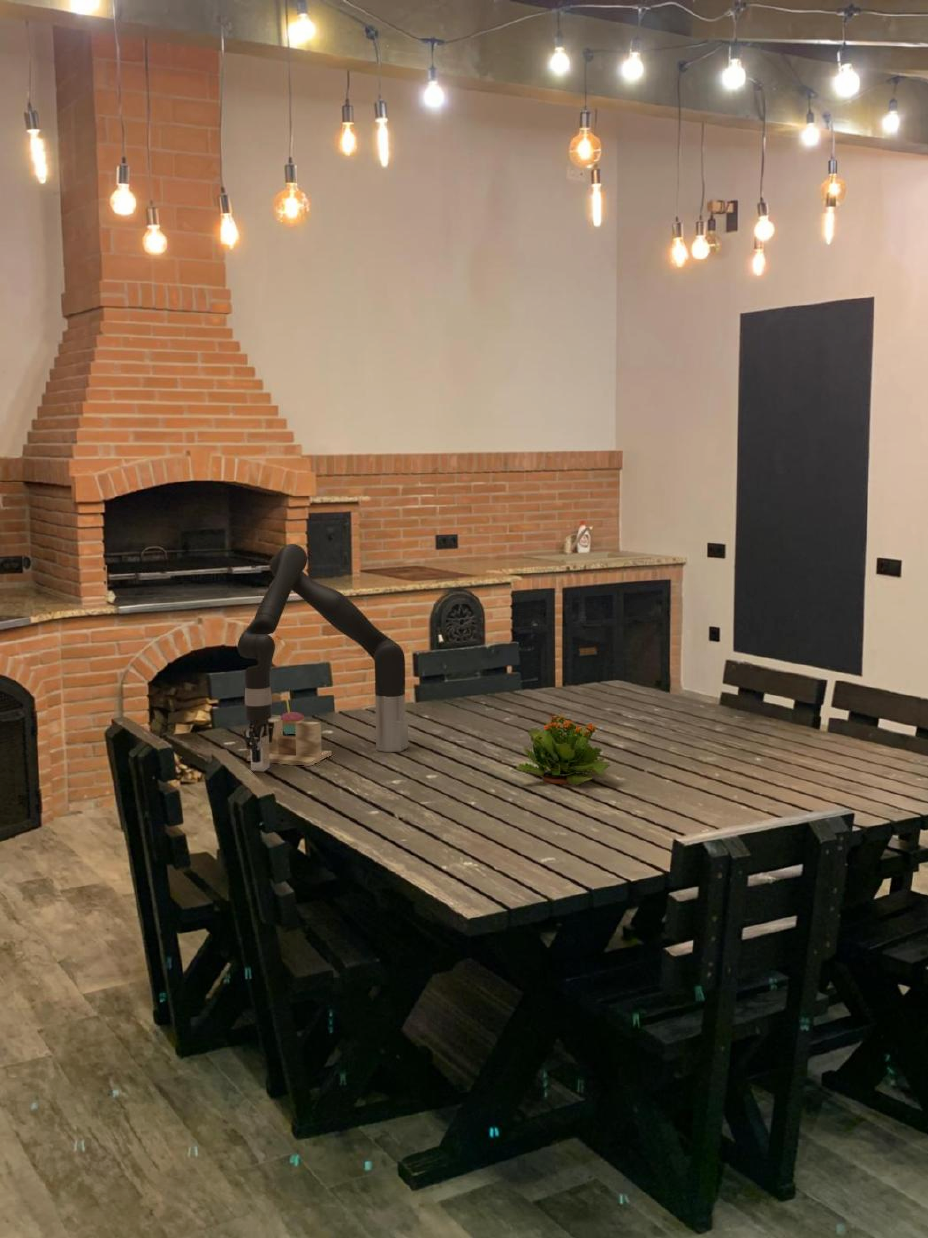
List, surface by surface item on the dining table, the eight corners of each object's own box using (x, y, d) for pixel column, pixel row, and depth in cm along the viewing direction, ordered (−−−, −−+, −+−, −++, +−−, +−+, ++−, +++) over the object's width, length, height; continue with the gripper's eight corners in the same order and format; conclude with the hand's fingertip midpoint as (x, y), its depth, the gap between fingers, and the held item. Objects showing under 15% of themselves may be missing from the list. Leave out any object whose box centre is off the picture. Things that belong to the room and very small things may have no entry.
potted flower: (527, 794, 330) (527, 730, 328) (501, 773, 353) (500, 712, 350) (614, 786, 337) (615, 723, 334) (583, 766, 359) (583, 707, 357)
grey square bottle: (269, 768, 361) (268, 724, 359) (263, 771, 357) (261, 727, 355) (257, 767, 362) (256, 723, 361) (251, 770, 359) (249, 726, 357)
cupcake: (274, 734, 405) (272, 698, 403) (289, 729, 412) (288, 694, 411) (295, 737, 401) (294, 700, 399) (310, 731, 408) (309, 696, 407)
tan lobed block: (331, 756, 375) (330, 718, 373) (310, 767, 362) (308, 728, 360) (270, 750, 382) (269, 714, 381) (247, 761, 369) (246, 723, 368)
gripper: (257, 708, 349) (259, 767, 351) (281, 698, 362) (283, 755, 365) (234, 706, 352) (236, 765, 354) (259, 697, 365) (261, 754, 367)
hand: (260, 760), depth 359 cm, fingers closed on grey square bottle, 4 cm apart
